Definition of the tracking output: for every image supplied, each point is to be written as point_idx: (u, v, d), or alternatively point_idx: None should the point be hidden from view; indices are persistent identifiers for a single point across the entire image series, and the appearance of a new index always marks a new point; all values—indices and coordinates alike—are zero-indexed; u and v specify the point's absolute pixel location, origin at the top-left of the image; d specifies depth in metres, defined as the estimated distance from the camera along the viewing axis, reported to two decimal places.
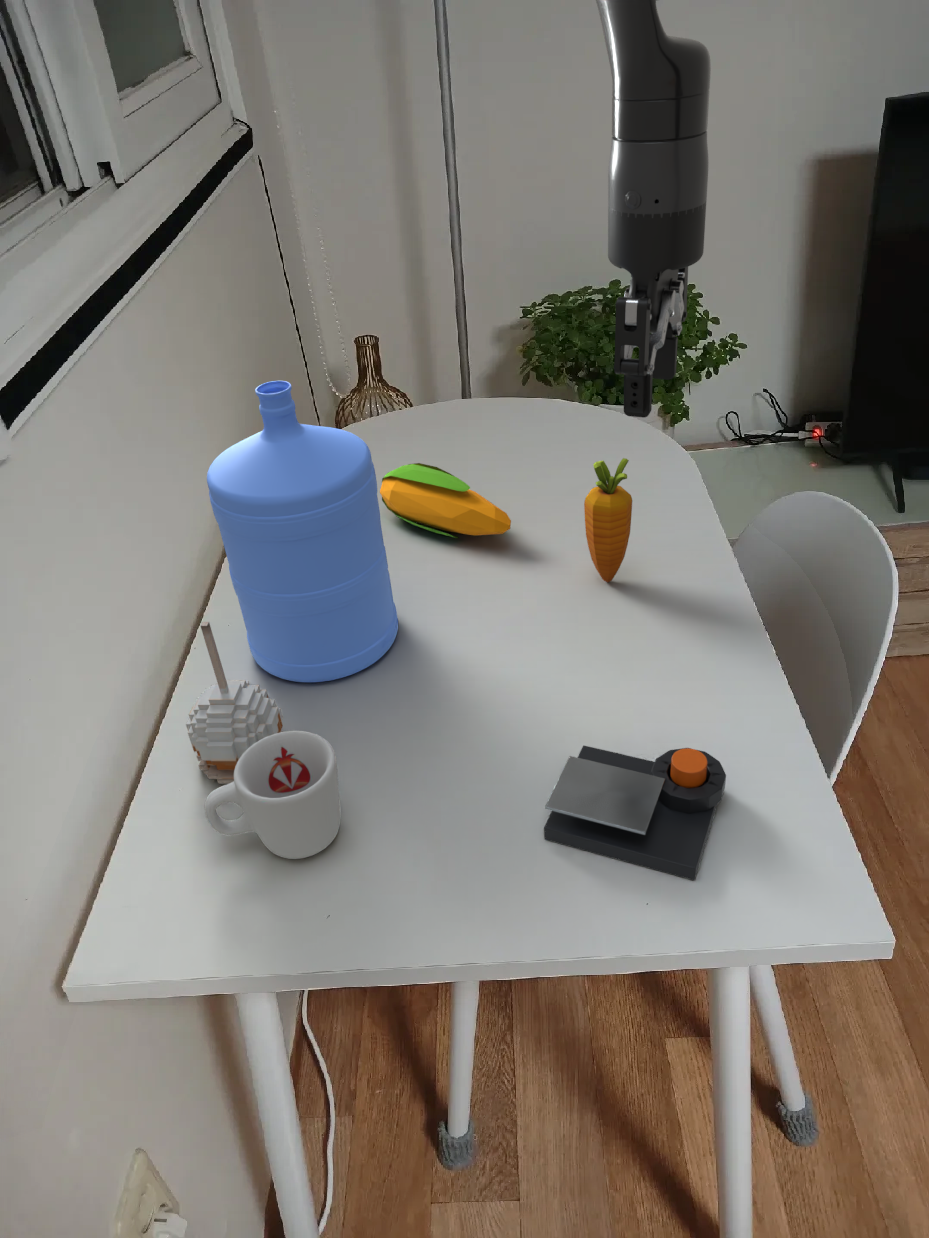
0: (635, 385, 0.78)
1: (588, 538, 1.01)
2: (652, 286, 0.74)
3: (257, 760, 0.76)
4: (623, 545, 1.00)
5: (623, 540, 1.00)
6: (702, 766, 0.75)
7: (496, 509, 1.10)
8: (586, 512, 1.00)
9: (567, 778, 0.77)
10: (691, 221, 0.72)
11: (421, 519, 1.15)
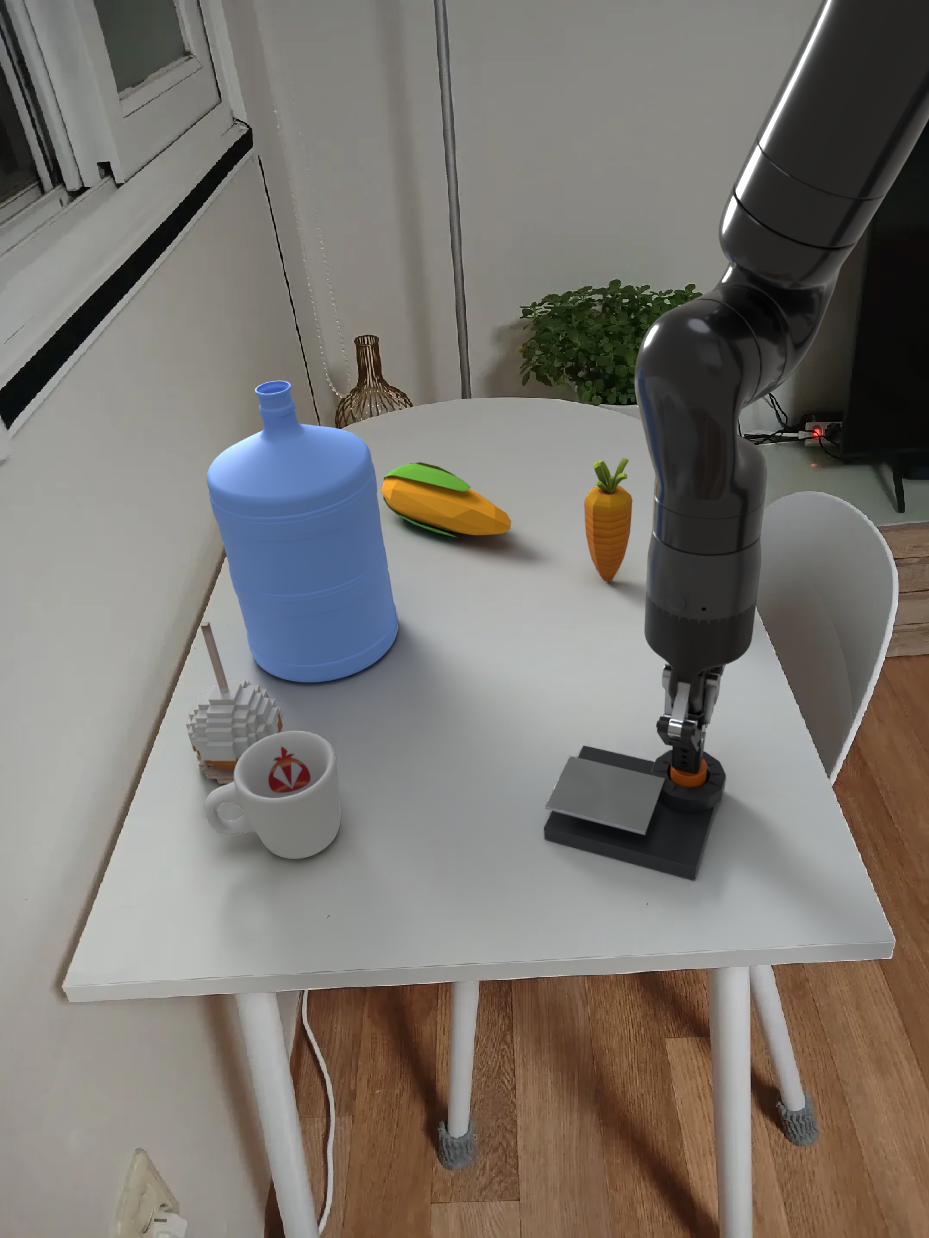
0: None
1: (588, 538, 1.01)
2: (693, 694, 0.66)
3: (257, 760, 0.76)
4: (623, 545, 1.00)
5: (623, 540, 1.00)
6: (702, 770, 0.75)
7: (496, 509, 1.10)
8: (586, 512, 1.00)
9: (567, 778, 0.77)
10: (741, 622, 0.64)
11: (422, 519, 1.15)
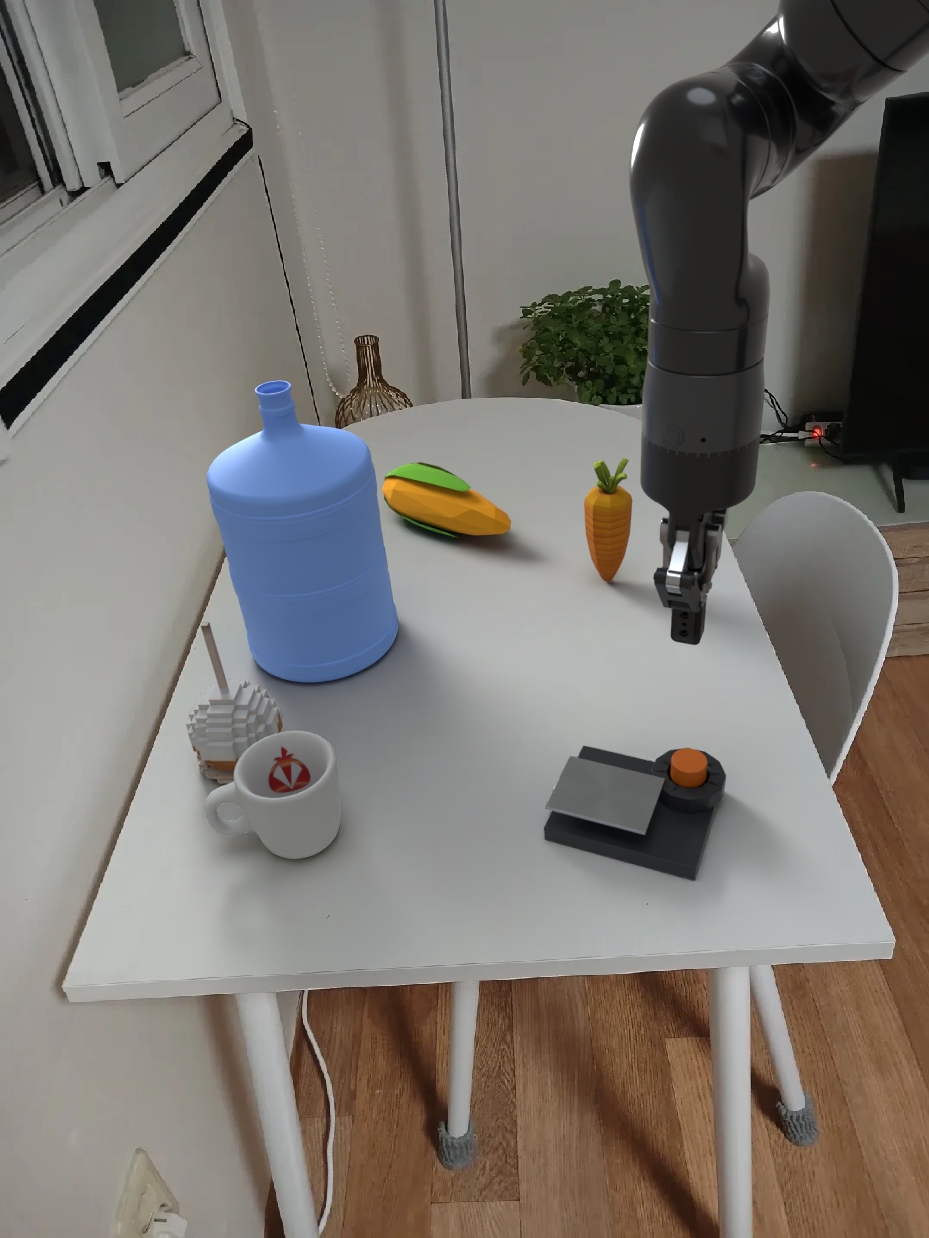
0: (685, 614, 0.69)
1: (588, 538, 1.01)
2: (693, 541, 0.62)
3: (257, 760, 0.76)
4: (623, 545, 1.00)
5: (623, 540, 1.00)
6: (702, 766, 0.75)
7: (496, 509, 1.10)
8: (586, 512, 1.00)
9: (567, 778, 0.77)
10: (744, 458, 0.60)
11: (422, 519, 1.15)
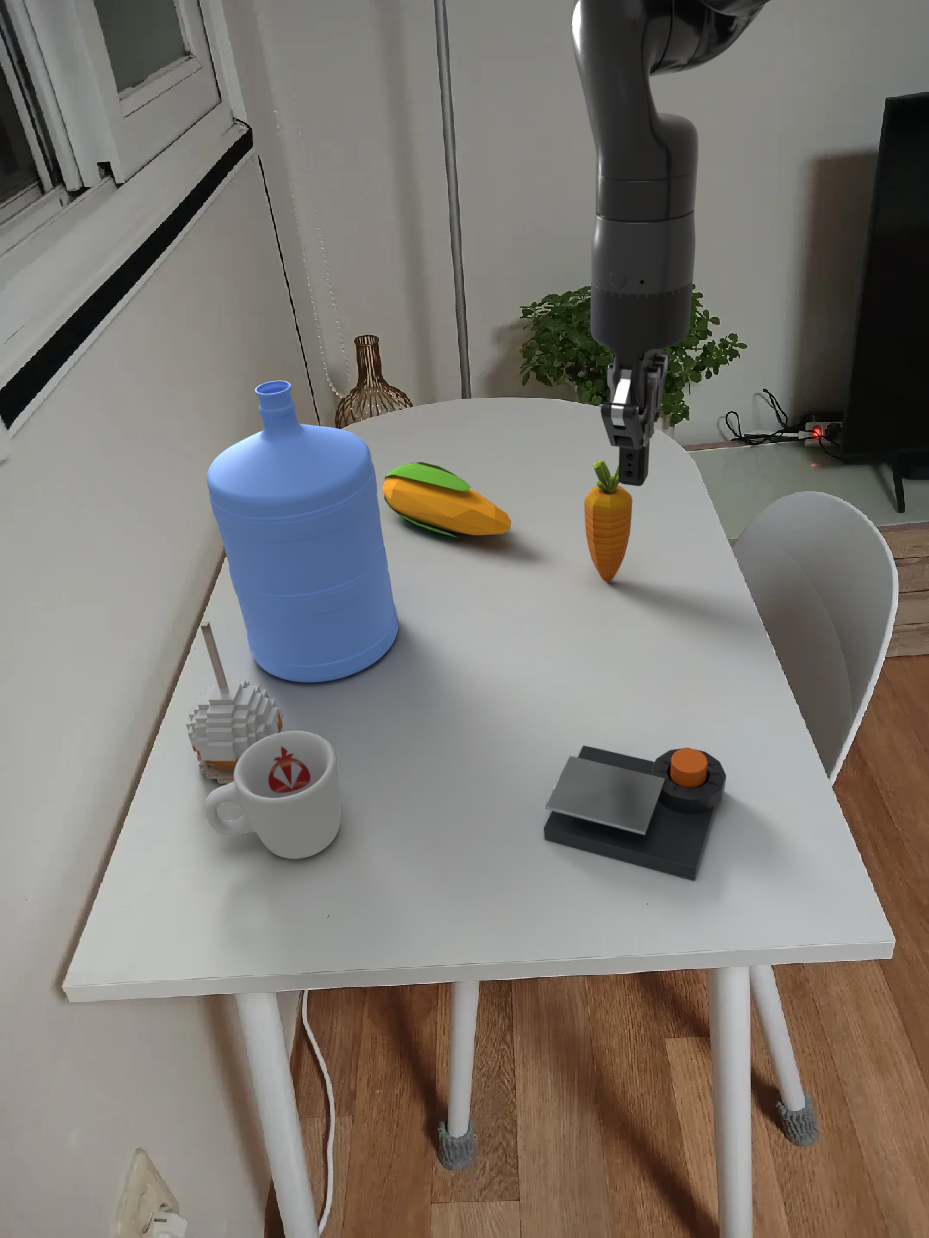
0: (630, 455, 0.79)
1: (588, 538, 1.01)
2: (635, 377, 0.71)
3: (257, 760, 0.76)
4: (623, 545, 1.00)
5: (623, 540, 1.00)
6: (702, 766, 0.75)
7: (496, 509, 1.10)
8: (586, 512, 1.00)
9: (567, 778, 0.77)
10: (677, 301, 0.69)
11: (422, 518, 1.15)
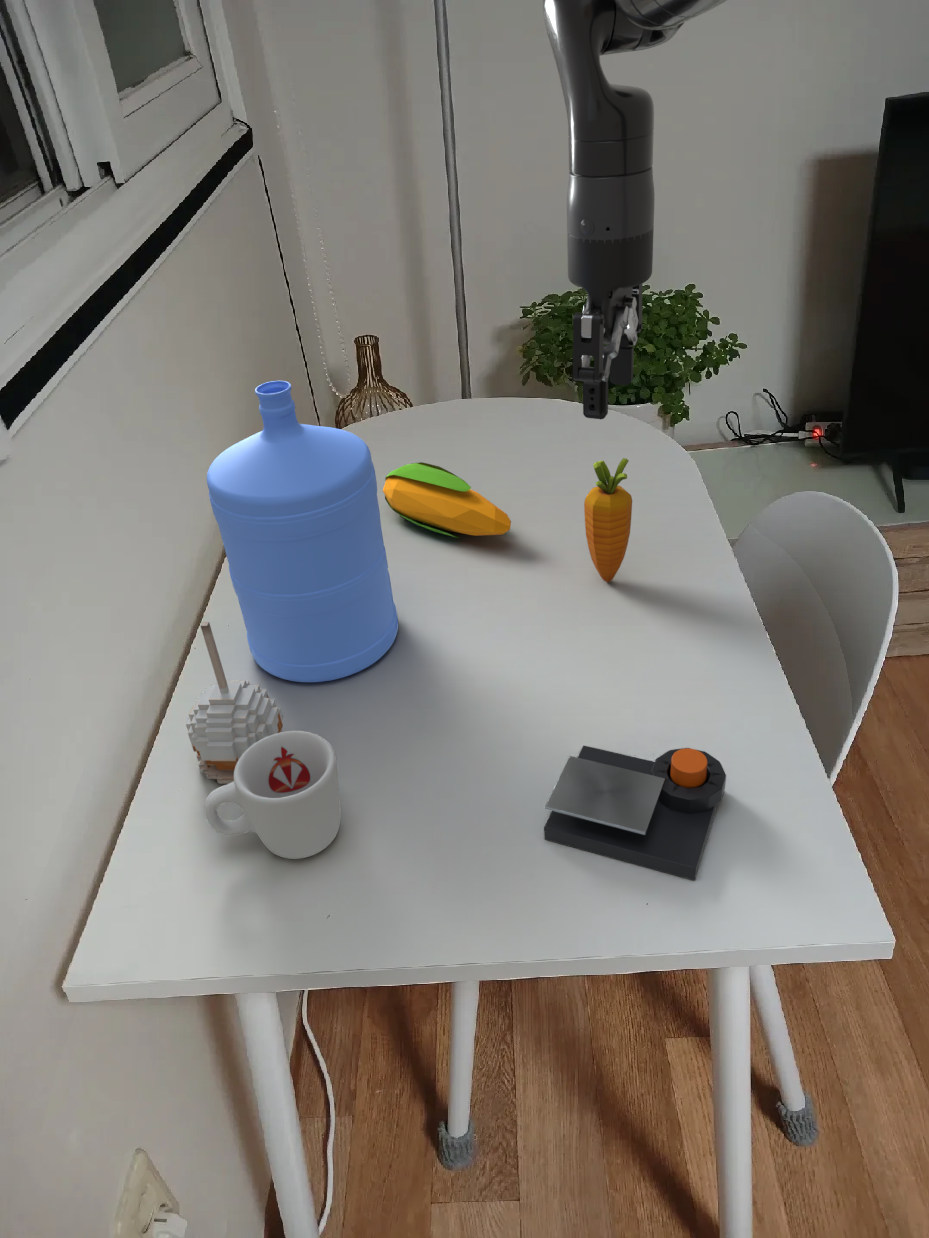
0: (592, 390, 0.87)
1: (588, 538, 1.01)
2: (606, 303, 0.84)
3: (257, 760, 0.76)
4: (623, 545, 1.00)
5: (623, 540, 1.00)
6: (702, 766, 0.75)
7: (496, 510, 1.10)
8: (586, 512, 1.00)
9: (567, 778, 0.77)
10: (639, 246, 0.81)
11: (422, 519, 1.16)
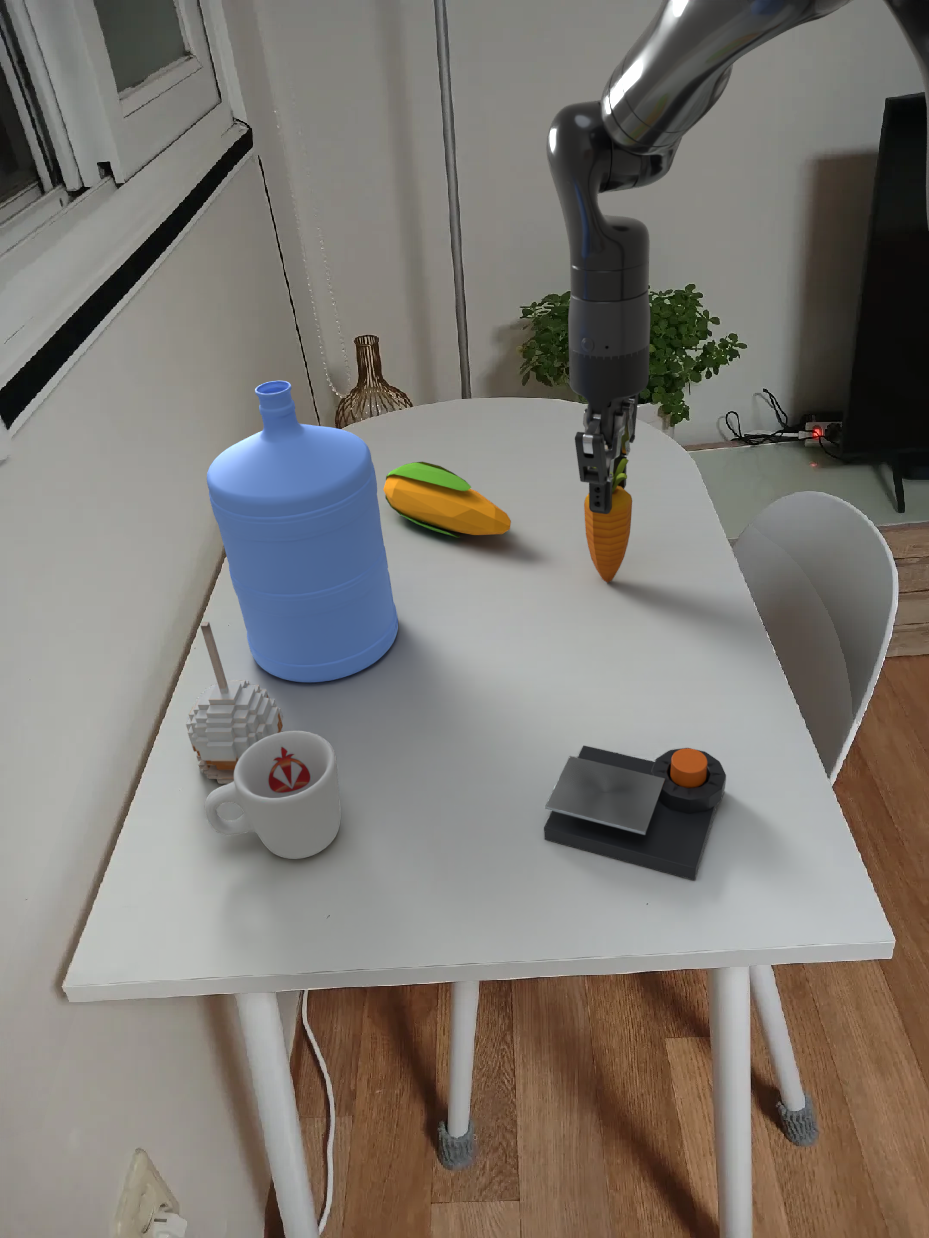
0: (598, 489, 0.95)
1: (588, 538, 1.01)
2: (604, 415, 0.89)
3: (257, 760, 0.76)
4: (623, 545, 1.00)
5: (623, 540, 1.00)
6: (702, 766, 0.75)
7: (496, 509, 1.10)
8: (586, 512, 1.00)
9: (567, 778, 0.77)
10: (636, 361, 0.87)
11: (423, 518, 1.16)
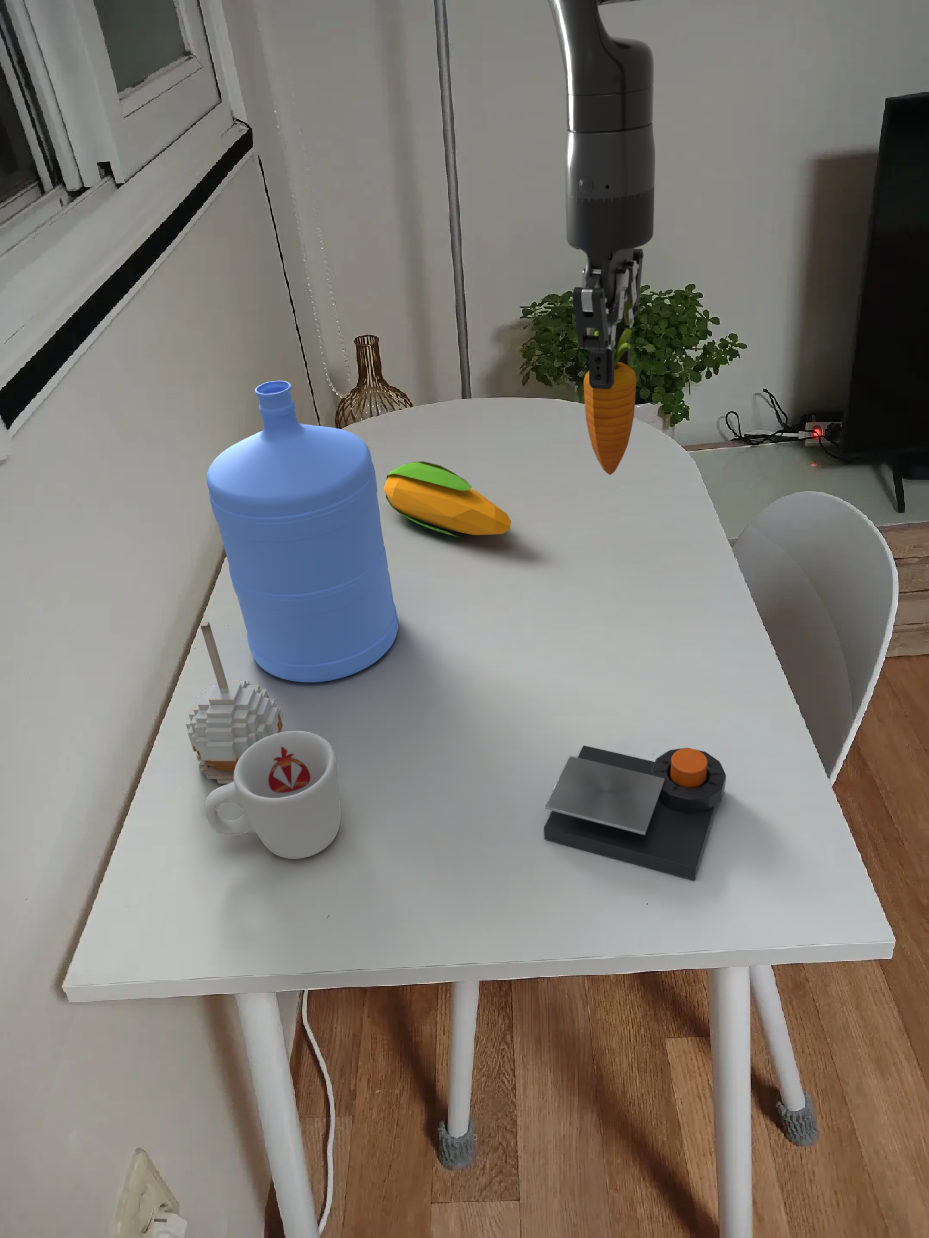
0: (598, 359, 0.87)
1: (588, 422, 0.93)
2: (605, 269, 0.81)
3: (257, 760, 0.76)
4: (626, 428, 0.92)
5: (626, 422, 0.92)
6: (702, 766, 0.75)
7: (496, 509, 1.10)
8: (586, 391, 0.91)
9: (567, 778, 0.77)
10: (639, 205, 0.79)
11: (423, 518, 1.16)
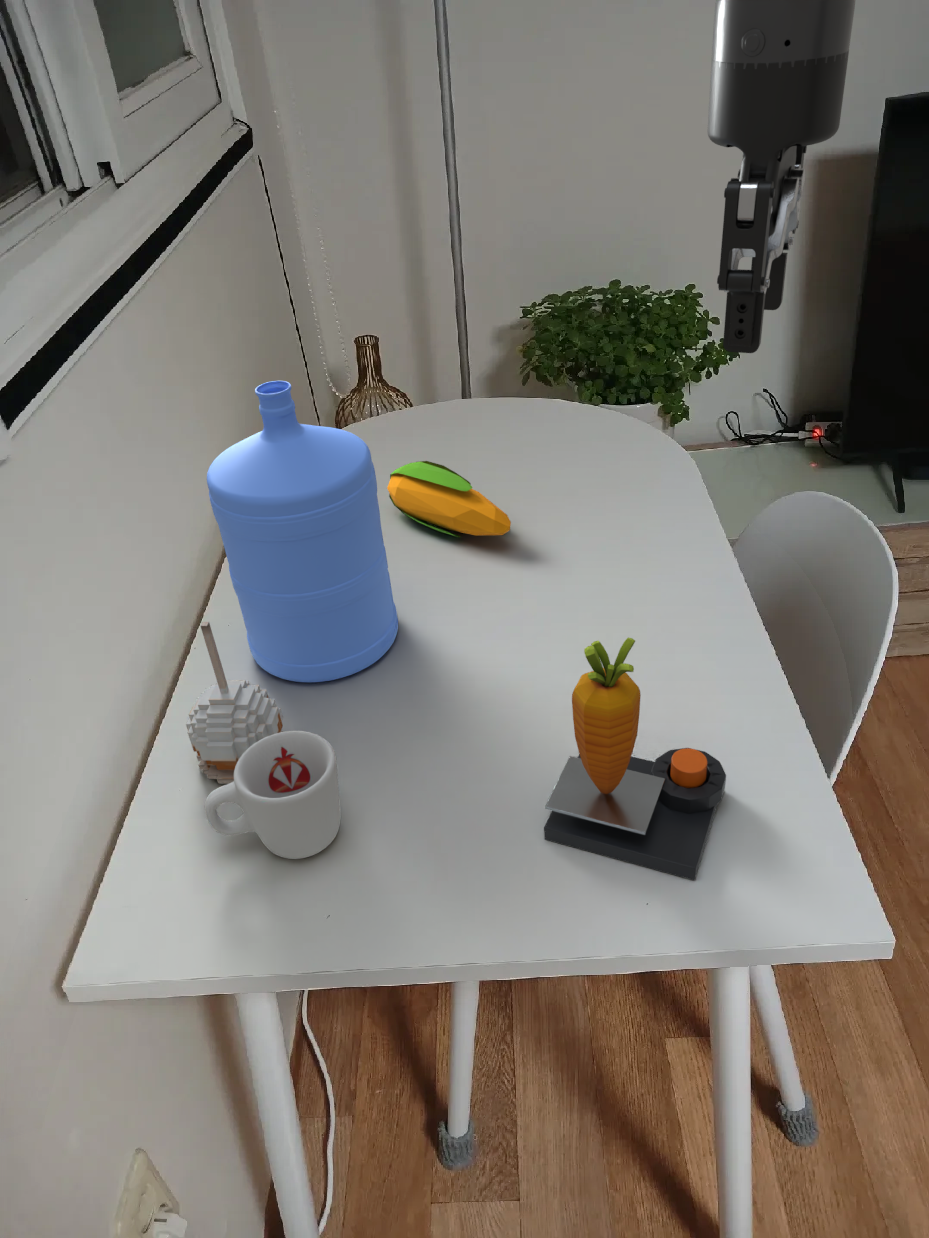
0: (742, 308, 0.58)
1: (578, 741, 0.71)
2: (773, 168, 0.55)
3: (257, 760, 0.76)
4: (628, 754, 0.70)
5: (628, 749, 0.70)
6: (702, 766, 0.75)
7: (496, 510, 1.10)
8: (575, 709, 0.70)
9: (567, 778, 0.77)
10: (831, 74, 0.52)
11: (425, 517, 1.16)
